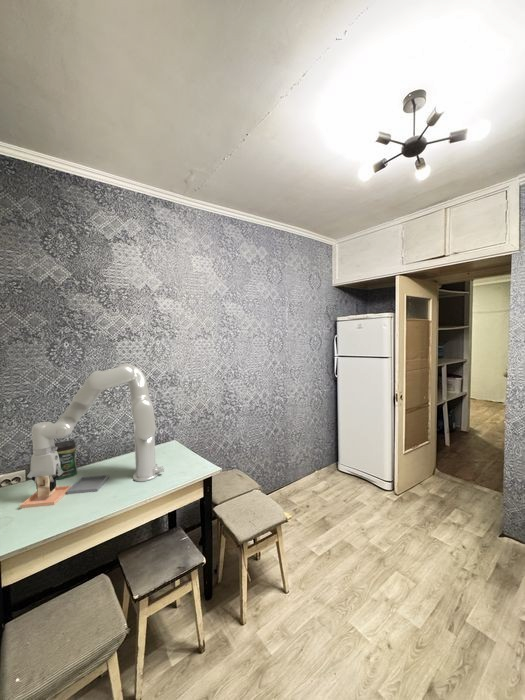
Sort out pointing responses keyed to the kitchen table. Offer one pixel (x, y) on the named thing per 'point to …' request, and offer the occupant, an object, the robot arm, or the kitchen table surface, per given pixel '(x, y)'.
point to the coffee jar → (67, 458)
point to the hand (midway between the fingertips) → (46, 489)
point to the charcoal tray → (88, 484)
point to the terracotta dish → (45, 498)
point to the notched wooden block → (44, 486)
